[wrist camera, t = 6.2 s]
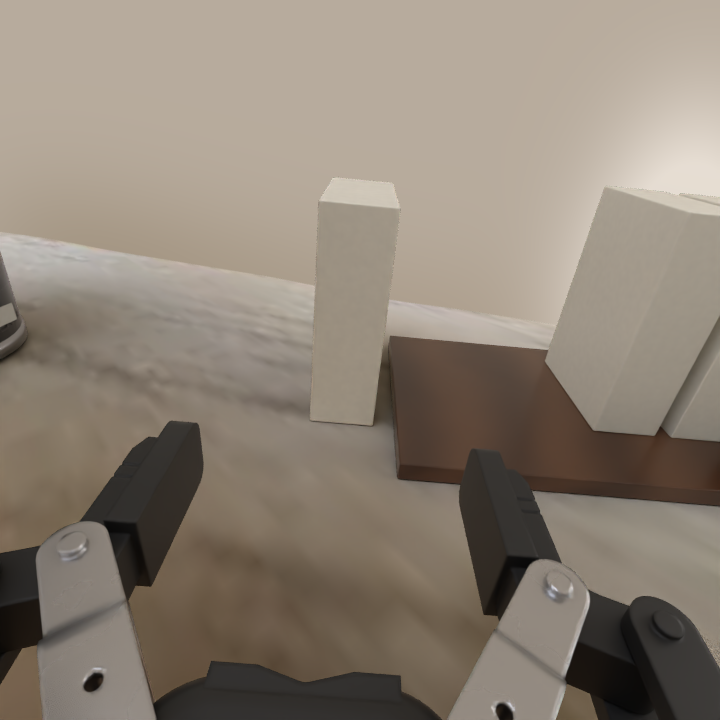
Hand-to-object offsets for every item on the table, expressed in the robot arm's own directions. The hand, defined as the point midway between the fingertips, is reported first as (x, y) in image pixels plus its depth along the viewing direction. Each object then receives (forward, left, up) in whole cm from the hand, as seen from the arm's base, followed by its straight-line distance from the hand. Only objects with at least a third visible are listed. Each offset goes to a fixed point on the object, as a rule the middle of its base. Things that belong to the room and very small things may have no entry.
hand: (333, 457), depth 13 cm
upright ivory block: (0, +14, -7) cm, 15 cm away
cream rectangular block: (+16, +14, -6) cm, 22 cm away
